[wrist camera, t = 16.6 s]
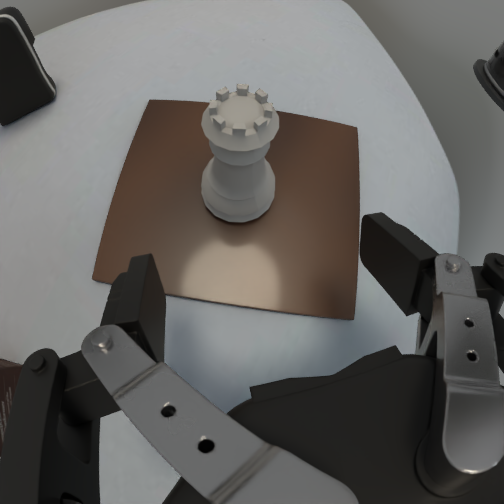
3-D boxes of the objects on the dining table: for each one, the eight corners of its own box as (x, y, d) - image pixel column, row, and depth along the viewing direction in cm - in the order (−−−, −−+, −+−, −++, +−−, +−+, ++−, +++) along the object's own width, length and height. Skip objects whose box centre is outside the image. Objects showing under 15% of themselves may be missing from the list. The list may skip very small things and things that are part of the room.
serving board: (355, 131, 21) (357, 127, 21) (351, 320, 18) (354, 319, 17) (150, 103, 21) (149, 99, 20) (94, 280, 17) (91, 279, 17)
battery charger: (61, 76, 22) (19, -6, 11) (57, 100, 21) (6, 12, 10) (8, 104, 21) (-42, 36, 10) (1, 130, 20) (-57, 59, 9)
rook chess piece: (287, 203, 19) (320, 123, 11) (224, 239, 18) (217, 170, 10) (250, 150, 20) (258, 59, 12) (189, 181, 19) (167, 94, 11)
